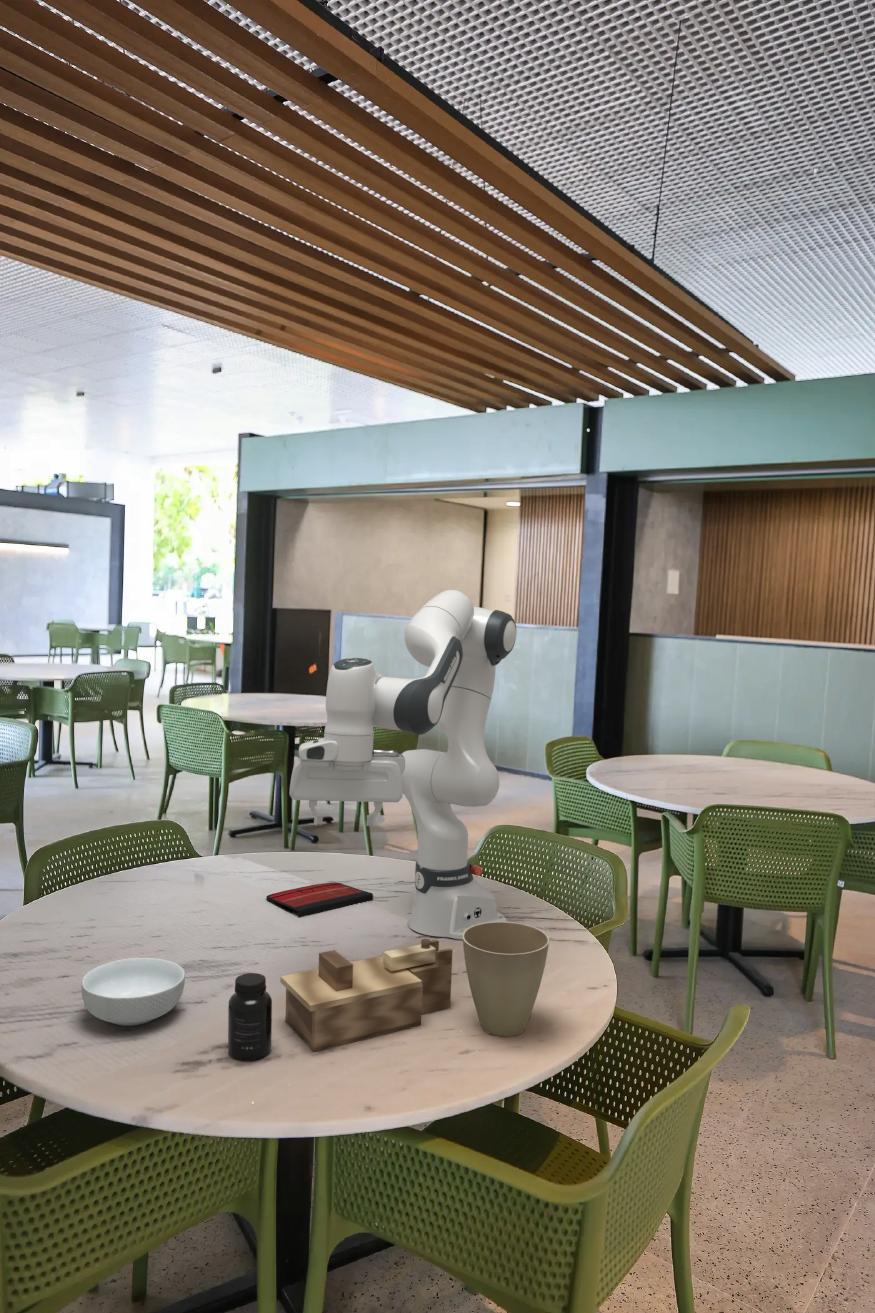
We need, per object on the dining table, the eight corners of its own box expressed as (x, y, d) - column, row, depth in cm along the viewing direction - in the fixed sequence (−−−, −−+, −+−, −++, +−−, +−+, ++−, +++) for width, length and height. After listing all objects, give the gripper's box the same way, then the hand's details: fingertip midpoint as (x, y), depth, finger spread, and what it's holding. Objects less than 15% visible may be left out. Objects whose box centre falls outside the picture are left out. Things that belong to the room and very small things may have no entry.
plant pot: (476, 1001, 169) (479, 916, 168) (555, 1018, 164) (559, 930, 163) (445, 1036, 156) (449, 943, 154) (530, 1056, 150) (535, 959, 149)
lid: (386, 966, 169) (387, 933, 169) (421, 993, 158) (422, 958, 158) (280, 989, 158) (280, 953, 158) (310, 1019, 148) (311, 981, 147)
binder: (373, 892, 222) (298, 910, 209) (373, 902, 223) (298, 920, 209) (335, 878, 235) (262, 894, 221) (335, 887, 235) (262, 903, 221)
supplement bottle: (230, 1041, 151) (232, 969, 150) (273, 1041, 152) (274, 969, 151) (224, 1062, 144) (226, 987, 144) (268, 1062, 145) (270, 987, 144)
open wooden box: (425, 989, 174) (427, 933, 173) (460, 1015, 163) (462, 956, 163) (285, 1021, 159) (286, 960, 158) (314, 1052, 149) (315, 987, 148)
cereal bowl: (125, 1049, 148) (126, 1006, 147) (59, 1021, 156) (60, 980, 156) (205, 1010, 162) (205, 971, 161) (140, 986, 171) (141, 949, 170)
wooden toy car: (426, 956, 168) (427, 936, 168) (435, 962, 165) (436, 942, 165) (383, 965, 163) (383, 945, 163) (391, 971, 160) (392, 951, 160)
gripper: (403, 748, 171) (400, 822, 171) (291, 744, 168) (288, 820, 168) (407, 753, 165) (403, 830, 165) (291, 749, 162) (287, 828, 162)
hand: (344, 825), depth 167 cm, fingers open, 8 cm apart
